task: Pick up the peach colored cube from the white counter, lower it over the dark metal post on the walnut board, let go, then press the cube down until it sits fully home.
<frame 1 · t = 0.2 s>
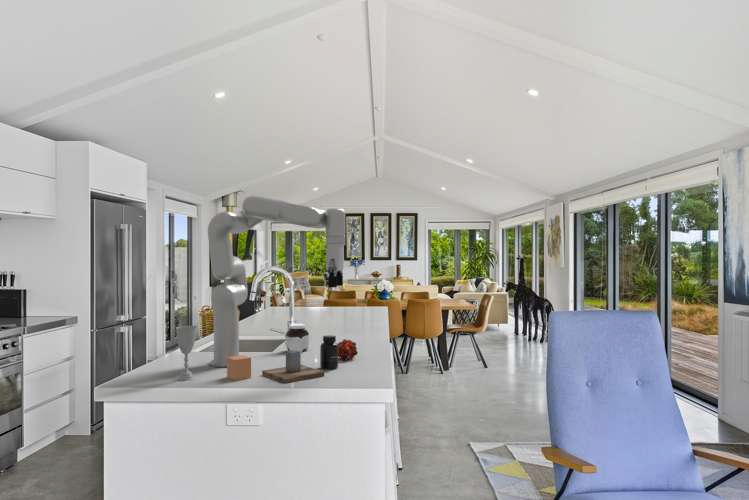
hand: (335, 286, 201), 31 cm above the countertop, tool pointing down, fingers open, 9 cm apart
peach colored cube: (239, 377, 187), on the countertop
metal post: (293, 361, 190), on the walnut board, point 5 cm above the countertop
spread jar: (297, 352, 235), on the countertop
chalice: (186, 379, 185), on the countertop
supplement bottle: (329, 368, 202), on the countertop
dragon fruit: (346, 359, 218), on the countertop
walnut board: (293, 375, 189), on the countertop
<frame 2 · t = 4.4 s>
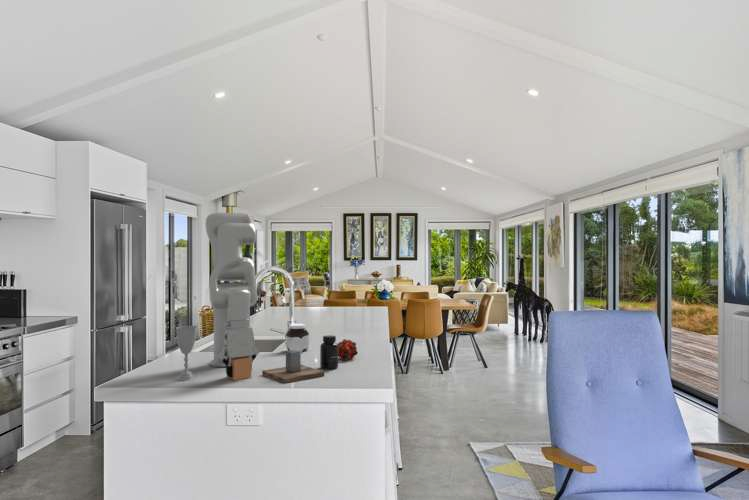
hand: (239, 374, 187), 1 cm above the countertop, tool pointing down, fingers closed on peach colored cube, 6 cm apart
peach colored cube: (239, 377, 187), on the countertop, touching gripper
everything else where it was.
when the fingers open (4 cm above the countertop, at t = 10.6 s): peach colored cube drops 1 cm, resting on metal post.
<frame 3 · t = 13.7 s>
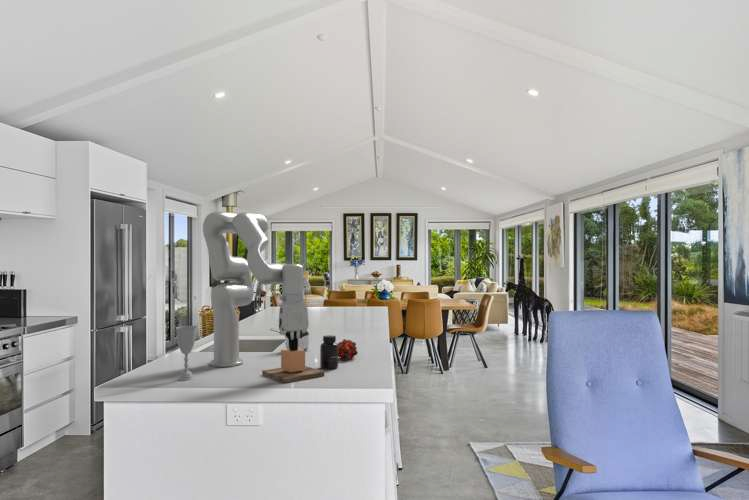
hand: (293, 349, 189), 9 cm above the countertop, tool pointing down, fingers closed
peach colored cube: (293, 369, 189), point 2 cm above the countertop, touching gripper, metal post
everything else where it was.
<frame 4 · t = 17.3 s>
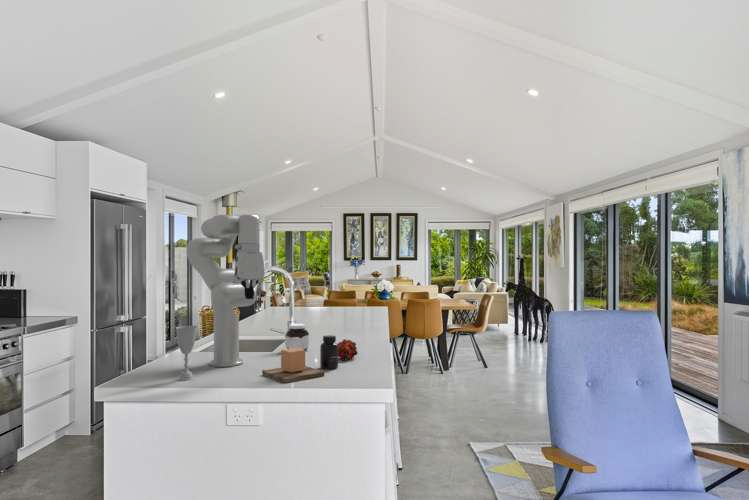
hand: (249, 298, 194), 27 cm above the countertop, tool pointing down, fingers closed
peach colored cube: (293, 369, 189), point 2 cm above the countertop, touching metal post
everything else where it was.
at the end: peach colored cube 0.1 cm from the metal post (horizontally); peach colored cube point 2.1 cm above the countertop; peach colored cube tilted 0° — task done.
